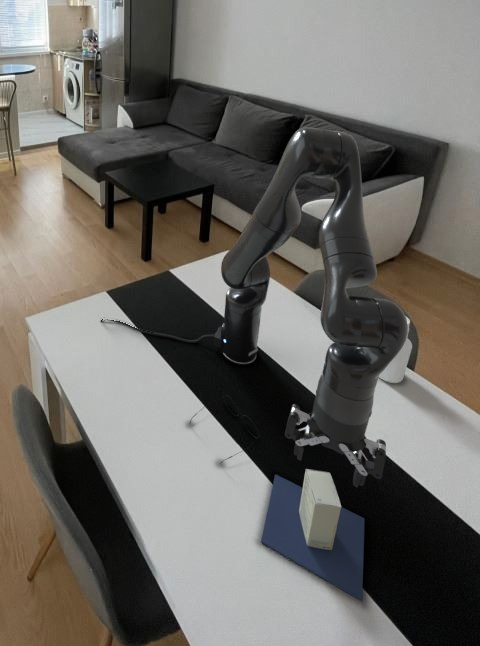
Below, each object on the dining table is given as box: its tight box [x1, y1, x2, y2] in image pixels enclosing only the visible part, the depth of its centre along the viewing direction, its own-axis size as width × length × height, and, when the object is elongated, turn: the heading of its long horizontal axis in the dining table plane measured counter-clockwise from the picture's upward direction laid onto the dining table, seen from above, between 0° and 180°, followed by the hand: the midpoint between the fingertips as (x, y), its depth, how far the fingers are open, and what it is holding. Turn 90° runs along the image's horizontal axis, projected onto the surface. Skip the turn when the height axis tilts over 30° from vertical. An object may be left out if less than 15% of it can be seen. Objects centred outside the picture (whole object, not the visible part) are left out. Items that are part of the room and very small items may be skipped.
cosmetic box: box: [299, 468, 342, 550], centre depth 79 cm, size 6×4×12 cm
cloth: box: [260, 474, 366, 602], centre depth 81 cm, size 16×14×1 cm
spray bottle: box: [378, 315, 413, 384], centre depth 109 cm, size 7×7×18 cm
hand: (326, 468), depth 74 cm, fingers open, 8 cm apart
